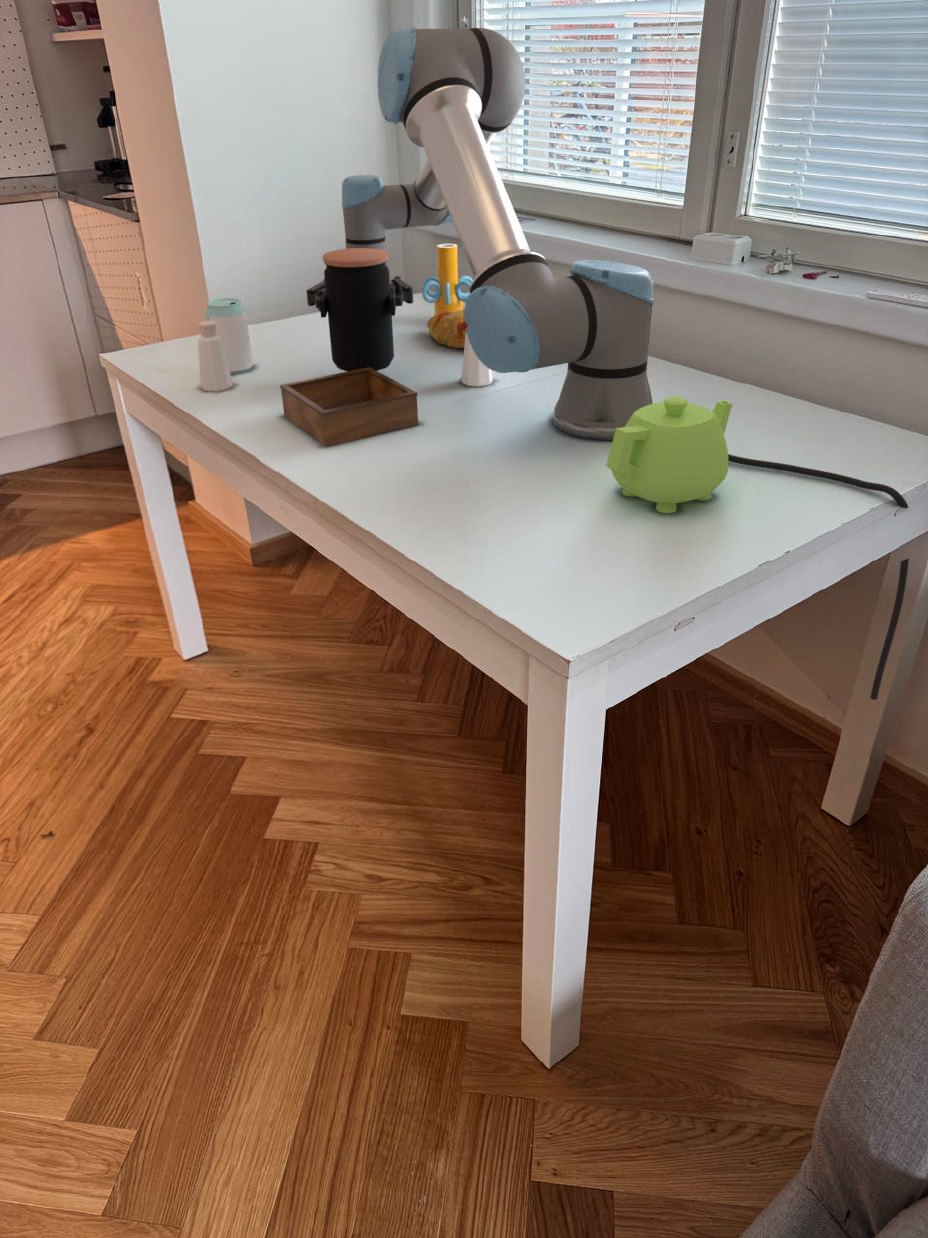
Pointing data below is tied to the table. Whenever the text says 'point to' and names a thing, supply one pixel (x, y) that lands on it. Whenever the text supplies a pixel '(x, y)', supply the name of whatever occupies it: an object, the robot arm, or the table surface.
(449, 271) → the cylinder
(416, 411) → the wooden tray
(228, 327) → the can
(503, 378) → the table surface
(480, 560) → the table surface
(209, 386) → the salt shaker
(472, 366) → the pepper shaker
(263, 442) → the table surface
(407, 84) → the robot arm
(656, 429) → the teapot
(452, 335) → the croissant
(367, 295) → the coffee jar
